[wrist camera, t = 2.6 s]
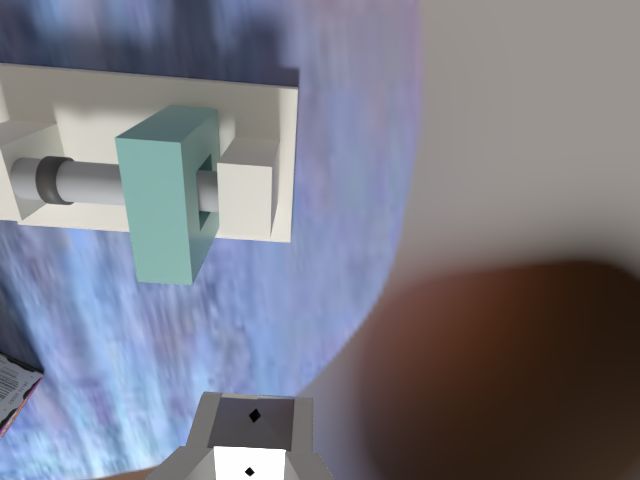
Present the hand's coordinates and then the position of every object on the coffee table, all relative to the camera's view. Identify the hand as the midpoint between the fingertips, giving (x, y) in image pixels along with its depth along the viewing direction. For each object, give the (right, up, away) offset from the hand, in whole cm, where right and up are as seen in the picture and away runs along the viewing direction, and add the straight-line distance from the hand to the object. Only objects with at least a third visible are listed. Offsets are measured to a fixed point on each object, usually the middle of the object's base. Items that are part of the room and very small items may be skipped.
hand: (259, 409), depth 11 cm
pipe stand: (-10, +10, +18) cm, 23 cm away
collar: (-7, +10, +17) cm, 20 cm away
